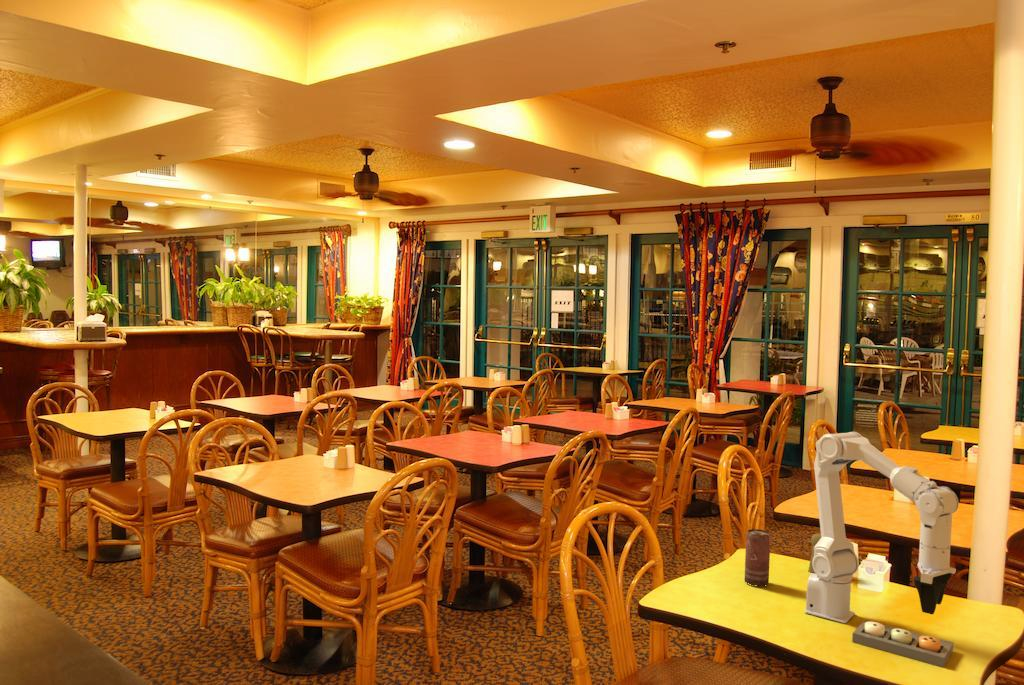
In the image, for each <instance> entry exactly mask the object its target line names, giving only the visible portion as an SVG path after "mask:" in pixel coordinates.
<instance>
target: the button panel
mask: <svg viewBox="0 0 1024 685" xmlns="http://www.w3.org/2000/svg"><path fill="white" fill-rule="evenodd" d="M866 622H874V621H872V620H868V619H864V620H863V621H862V622H861V624H859V625H858V627H857V628H855V630H854V631H853V632H852V638H851V640H852V642H851V643H855V644H859V645H862V646H865V647H866V646H867V647H870V648H872V649H877V650H879V651H884V652H888V653H891V654H894V655H897V656H902V657H905V658H909V659H912V660H916V661H918V662H919V661H920V662H923V663H926V664H927V663H928V664H931V665H934V666H937V665H938V667H941V668H945V667H946V664H947V663H948V661H949V659H950V658H951V656H952V654H953V652H954V642H955V641H951V640H950V641H949V640H946V639H943V638H938V637H934V636H933V637H934V638H937V639H939V640H940V641H941V645H940V653H936V652H932V651H929V650H925V649H921V648H919V637H920V636H928V634H927V635H926V634H922V633H919V632H916V631H910V630H907V629H906V630H907V631H909V632H911V633H912V644H911V645H906V644H903V643H899V642H895V641H892V640H891V633H892V629H901V628H899V627H895V626H892V625H888V624H884V623H880V622H879V623H880V624H882V625H884V626H885V632H884V637H883V638H880V637H877V636H873V635H869V634H866V633H864V632H865V623H866Z"/></svg>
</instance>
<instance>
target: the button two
mask: <svg viewBox="0 0 1024 685" xmlns="http://www.w3.org/2000/svg"><path fill="white" fill-rule="evenodd" d="M909 631H910V630H908V631H907V629H904V628H900V629H892V633H891V640H892V641H895V642H899V643H903V644H906V645H911V644H912V633H911V632H909Z"/></svg>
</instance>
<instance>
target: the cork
mask: <svg viewBox="0 0 1024 685" xmlns="http://www.w3.org/2000/svg"><path fill="white" fill-rule="evenodd" d="M820 539H821V533H813V535H812V536H811V538H810V540H811V545H812V549H811V555H810V560H809V566H808V569H807V571H808V572H810V573H815V571H814V569H813V566H812V561H813V557H814V547H815V545H816V544H817V543H818V541H819V540H820ZM815 574H816V573H815Z"/></svg>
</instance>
